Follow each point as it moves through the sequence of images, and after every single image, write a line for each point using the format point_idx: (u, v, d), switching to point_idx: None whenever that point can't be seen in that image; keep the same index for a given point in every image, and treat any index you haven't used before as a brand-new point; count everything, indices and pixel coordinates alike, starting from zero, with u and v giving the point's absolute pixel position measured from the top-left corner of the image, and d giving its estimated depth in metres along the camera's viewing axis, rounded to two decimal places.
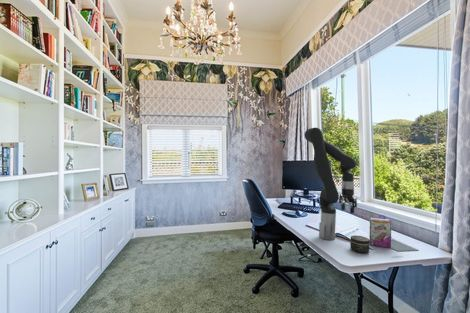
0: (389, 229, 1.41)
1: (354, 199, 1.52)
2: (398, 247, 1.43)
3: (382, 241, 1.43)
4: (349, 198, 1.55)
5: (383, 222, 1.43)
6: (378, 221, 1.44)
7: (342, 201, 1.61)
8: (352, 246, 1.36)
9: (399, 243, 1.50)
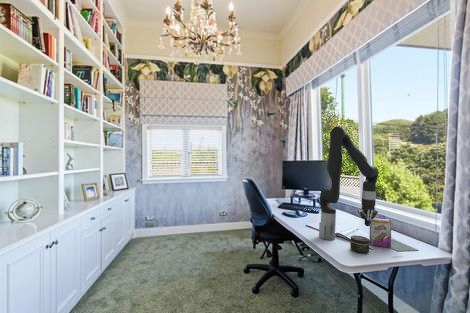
0: (389, 229, 1.41)
1: None
2: (398, 247, 1.43)
3: (382, 242, 1.43)
4: (373, 211, 1.44)
5: (383, 222, 1.43)
6: (378, 221, 1.44)
7: (368, 215, 1.43)
8: (352, 246, 1.36)
9: (399, 243, 1.50)
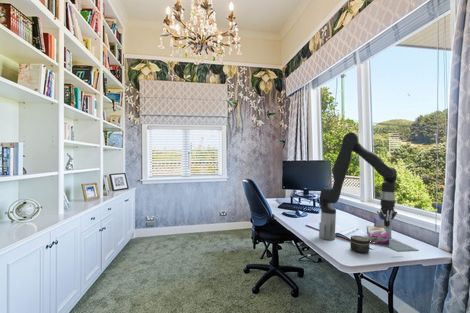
0: (384, 230, 1.56)
1: None
2: (398, 247, 1.43)
3: (379, 234, 1.50)
4: (392, 211, 1.46)
5: (378, 227, 1.61)
6: None
7: (388, 215, 1.45)
8: (352, 246, 1.36)
9: (399, 243, 1.50)
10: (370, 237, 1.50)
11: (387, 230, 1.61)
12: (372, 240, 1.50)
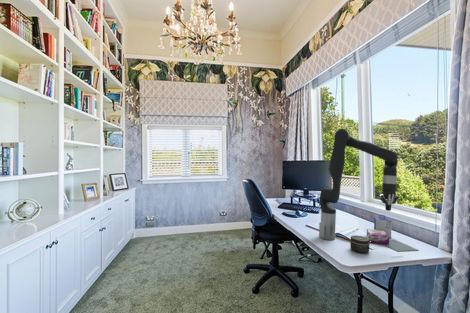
0: (384, 232, 1.57)
1: None
2: (398, 247, 1.43)
3: (379, 234, 1.51)
4: (394, 195, 1.45)
5: (378, 230, 1.62)
6: (373, 229, 1.63)
7: (389, 199, 1.44)
8: (352, 246, 1.36)
9: (399, 243, 1.50)
10: (370, 236, 1.50)
11: (387, 230, 1.62)
12: (372, 239, 1.50)
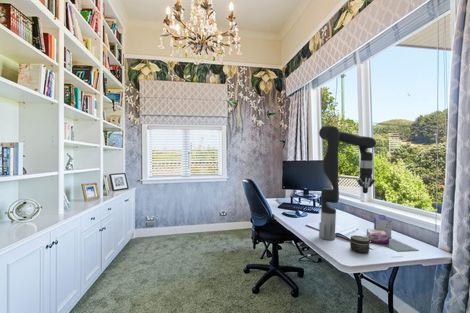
0: (384, 232, 1.57)
1: None
2: (398, 247, 1.43)
3: (379, 234, 1.51)
4: (370, 179, 1.56)
5: (378, 230, 1.62)
6: (373, 229, 1.63)
7: (366, 183, 1.55)
8: (352, 246, 1.36)
9: (399, 243, 1.50)
10: (370, 236, 1.50)
11: (387, 230, 1.62)
12: (372, 239, 1.50)
